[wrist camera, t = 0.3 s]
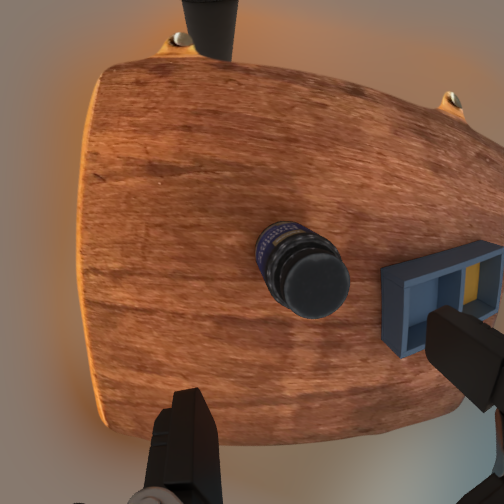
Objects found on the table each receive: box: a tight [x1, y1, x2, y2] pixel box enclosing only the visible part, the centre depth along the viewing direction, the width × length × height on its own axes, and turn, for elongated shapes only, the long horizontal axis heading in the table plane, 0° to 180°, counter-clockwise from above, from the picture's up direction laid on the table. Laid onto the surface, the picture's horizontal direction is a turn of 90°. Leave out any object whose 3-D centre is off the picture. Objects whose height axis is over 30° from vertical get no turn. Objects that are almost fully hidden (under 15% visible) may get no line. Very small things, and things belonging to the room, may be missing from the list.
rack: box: [381, 240, 504, 359], centre depth 31 cm, size 10×18×5 cm, turn 100°
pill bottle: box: [255, 221, 350, 319], centre depth 24 cm, size 6×6×11 cm
